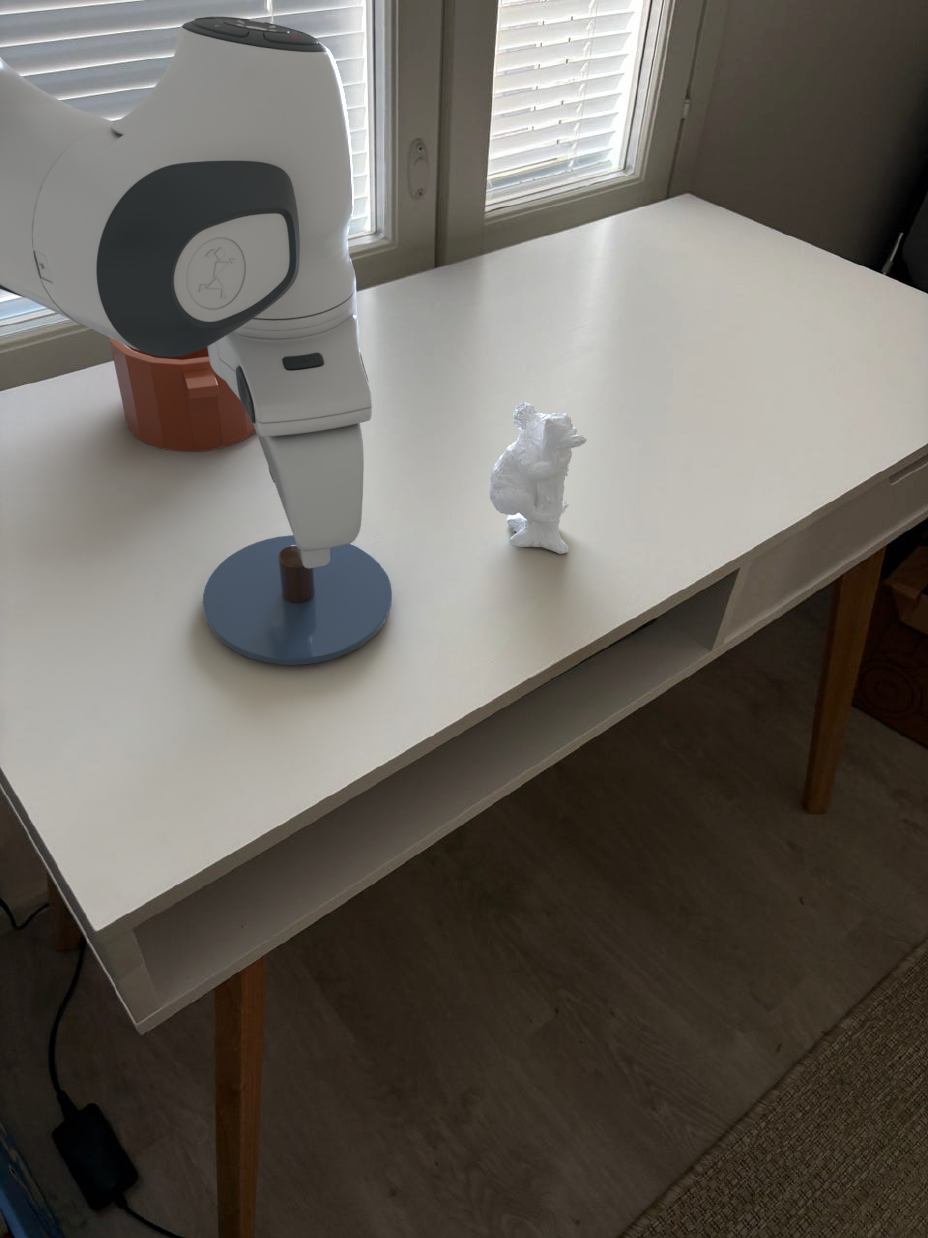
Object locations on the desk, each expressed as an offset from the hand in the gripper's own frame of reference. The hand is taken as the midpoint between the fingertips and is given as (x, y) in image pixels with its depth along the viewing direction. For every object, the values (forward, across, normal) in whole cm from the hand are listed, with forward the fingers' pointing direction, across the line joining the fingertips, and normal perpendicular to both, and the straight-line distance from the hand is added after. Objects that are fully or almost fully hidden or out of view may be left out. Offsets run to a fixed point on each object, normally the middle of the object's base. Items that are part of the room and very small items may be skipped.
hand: (298, 517), depth 69 cm
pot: (+8, -28, -4) cm, 29 cm away
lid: (+8, 0, 0) cm, 8 cm away
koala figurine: (+8, -3, +20) cm, 22 cm away
